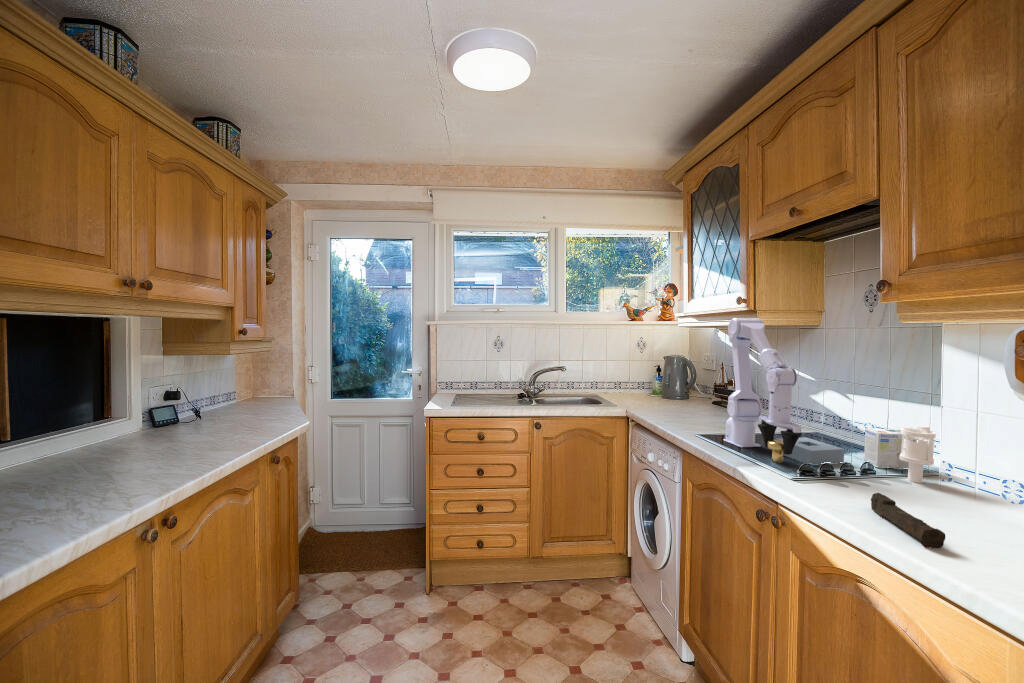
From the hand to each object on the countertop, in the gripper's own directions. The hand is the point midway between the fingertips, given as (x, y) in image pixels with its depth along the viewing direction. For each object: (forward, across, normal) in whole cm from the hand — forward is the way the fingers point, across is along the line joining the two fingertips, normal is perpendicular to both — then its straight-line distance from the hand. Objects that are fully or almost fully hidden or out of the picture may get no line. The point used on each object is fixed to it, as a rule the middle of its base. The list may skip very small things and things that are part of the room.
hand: (777, 450), depth 141 cm
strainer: (+4, +21, +25) cm, 33 cm away
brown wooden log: (+4, +43, -9) cm, 44 cm away
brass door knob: (+3, 0, 0) cm, 3 cm away
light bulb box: (+4, +9, +31) cm, 32 cm away
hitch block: (+3, -2, +13) cm, 14 cm away
